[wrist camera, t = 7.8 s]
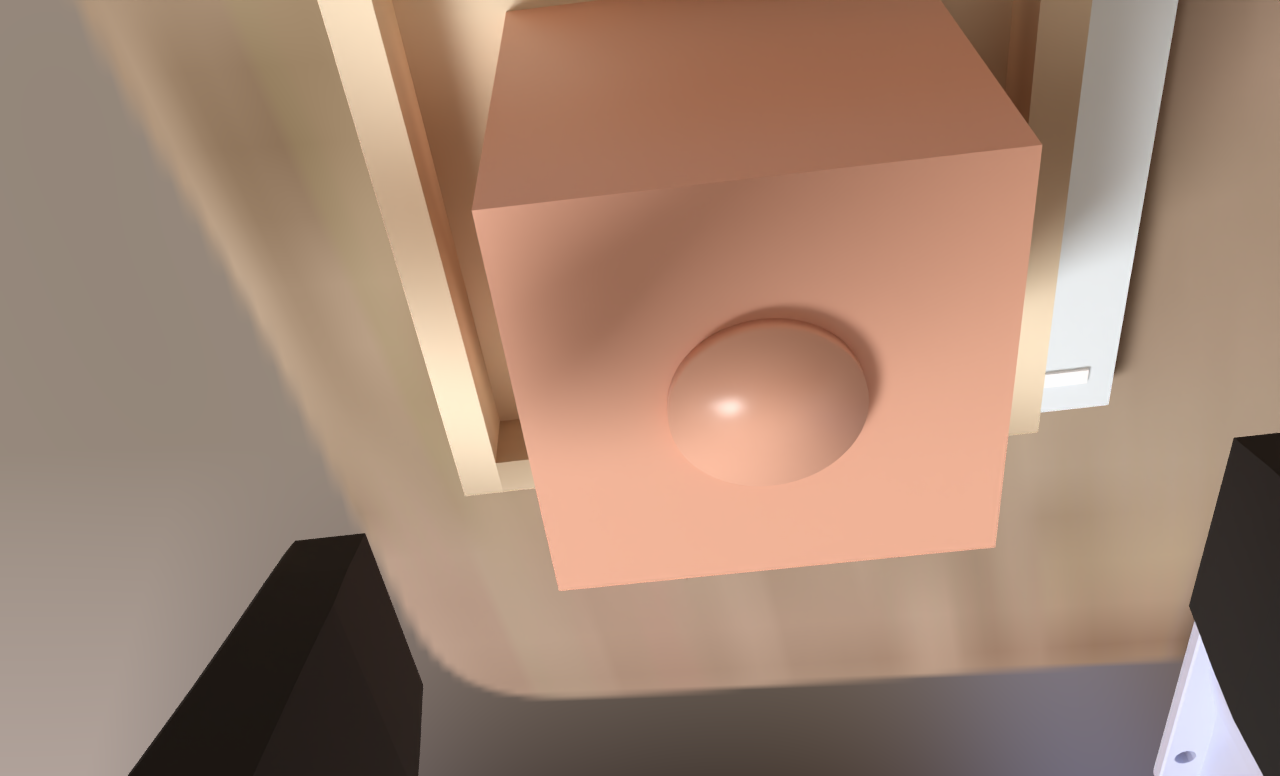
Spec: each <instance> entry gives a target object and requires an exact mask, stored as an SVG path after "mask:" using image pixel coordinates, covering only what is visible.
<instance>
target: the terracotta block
mask: <svg viewBox="0 0 1280 776" xmlns="http://www.w3.org/2000/svg"><path fill="white" fill-rule="evenodd" d="M1041 153H1042V143H1041V142H1040V141H1039V139H1038V138H1037V136H1036V135H1035V133H1034V132H1033V131H1032V129H1031V128H1030V126H1029V125H1028V123H1027V122H1026V121H1025V119H1024V118H1023V116H1022V115H1021V114H1020V112H1019V111H1018V109H1017V108H1016V106H1015V105H1014V104H1013V102H1012V101H1011V99H1010V98H1009V96H1008V95H1007V94H1006V92H1005V91H1004V89H1003V88H1002V87H1001V85H1000V84H999V82H998V81H997V79H996V78H995V77H994V75H993V74H992V72H991V71H990V69H989V68H988V67H987V65H986V64H985V62H984V61H983V60H982V58H981V57H980V55H979V54H978V52H977V51H976V50H975V48H974V47H973V45H972V44H971V43H970V41H969V40H968V38H967V37H966V35H965V34H964V33H963V31H962V30H961V28H960V27H959V25H958V24H957V23H956V21H955V20H954V18H953V17H952V16H951V14H950V13H949V11H948V10H947V8H946V7H945V6H944V4H943V3H942V1H941V0H597V1H588V2H580V3H572V4H564V5H556V6H548V7H540V8H531V9H523V10H515V11H507V12H506V15H505V21H504V27H503V33H502V38H501V44H500V50H499V56H498V61H497V67H496V73H495V79H494V84H493V90H492V96H491V102H490V107H489V113H488V119H487V125H486V130H485V136H484V142H483V148H482V153H481V159H480V165H479V171H478V176H477V182H476V188H475V194H474V199H473V205H472V215H473V219H474V223H475V228H476V232H477V236H478V241H479V245H480V250H481V254H482V258H483V263H484V267H485V271H486V276H487V280H488V284H489V289H490V293H491V297H492V302H493V306H494V310H495V315H496V319H497V323H498V328H499V332H500V336H501V341H502V345H503V349H504V354H505V358H506V363H507V367H508V371H509V376H510V380H511V384H512V389H513V393H514V397H515V402H516V406H517V410H518V415H519V419H520V423H521V428H522V432H523V436H524V441H525V445H526V449H527V454H528V458H529V462H530V467H531V471H532V475H533V480H534V484H535V489H536V493H537V497H538V502H539V506H540V510H541V515H542V519H543V523H544V528H545V532H546V536H547V541H548V545H549V549H550V554H551V558H552V562H553V567H554V571H555V575H556V580H557V584H558V588H559V591H564V590H574V589H584V588H594V587H604V586H614V585H624V584H634V583H644V582H653V581H663V580H673V579H683V578H693V577H703V576H713V575H723V574H733V573H743V572H753V571H763V570H773V569H783V568H793V567H803V566H813V565H823V564H833V563H843V562H853V561H863V560H873V559H883V558H893V557H903V556H913V555H923V554H932V553H942V552H952V551H962V550H972V549H982V548H992V547H995V544H996V536H997V527H998V519H999V510H1000V502H1001V493H1002V485H1003V476H1004V468H1005V459H1006V451H1007V442H1008V434H1009V425H1010V417H1011V408H1012V400H1013V391H1014V383H1015V374H1016V366H1017V357H1018V349H1019V340H1020V332H1021V323H1022V315H1023V306H1024V298H1025V289H1026V281H1027V272H1028V264H1029V255H1030V247H1031V238H1032V230H1033V221H1034V213H1035V204H1036V196H1037V187H1038V179H1039V170H1040V162H1041Z"/></svg>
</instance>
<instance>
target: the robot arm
mask: <svg viewBox="0 0 1280 776" xmlns="http://www.w3.org/2000/svg"><path fill="white" fill-rule="evenodd" d="M1189 607H1190V610H1191V612H1192V615H1193V618H1194V620H1195V621H1194V625H1193V628H1192V632H1191V636H1190V639H1189V643H1188V647H1187V650H1186V654H1185V657H1184V661H1183V665H1182V668H1181V672H1180V676H1179V680H1178V683H1177V687H1176V690H1175V694H1174V698H1173V701H1172V705H1171V708H1170V712H1169V715H1168V719H1167V723H1166V726H1165V730H1164V734H1163V738H1162V741H1161V745H1160V749H1159V752H1158V755H1157V759H1156V763H1155V766H1154V775H1155V776H1280V433H1273V434H1264V435H1255V436H1246V437H1237V438H1234V439H1233V443H1232V447H1231V451H1230V454H1229V458H1228V462H1227V466H1226V469H1225V473H1224V477H1223V481H1222V484H1221V488H1220V492H1219V496H1218V499H1217V503H1216V507H1215V511H1214V514H1213V518H1212V522H1211V526H1210V529H1209V533H1208V537H1207V541H1206V544H1205V548H1204V552H1203V556H1202V559H1201V563H1200V567H1199V571H1198V574H1197V578H1196V582H1195V586H1194V589H1193V593H1192V597H1191V601H1190V604H1189ZM422 696H423V684H422V681H421V678H420V675H419V673H418V670H417V668H416V665H415V663H414V660H413V658H412V655H411V652H410V650H409V647H408V644H407V642H406V639H405V636H404V634H403V631H402V628H401V626H400V623H399V621H398V618H397V615H396V613H395V610H394V608H393V605H392V602H391V600H390V597H389V594H388V592H387V589H386V587H385V584H384V581H383V579H382V576H381V574H380V571H379V568H378V566H377V563H376V561H375V558H374V555H373V553H372V550H371V547H370V545H369V542H368V540H367V537H366V534H365V533H363V534H354V535H345V536H336V537H327V538H317V539H308V540H299V541H295V542H294V543H293V544H292V545H291V546H290V548H289V549H288V550H287V551H286V553H285V554H284V555H283V557H282V558H281V560H280V561H279V563H278V564H277V566H276V567H275V568H274V570H273V571H272V573H271V574H270V576H269V577H268V579H267V580H266V581H265V583H264V584H263V586H262V587H261V589H260V590H259V592H258V593H257V594H256V596H255V597H254V599H253V600H252V602H251V603H250V605H249V606H248V608H247V609H246V611H245V612H244V614H243V615H242V616H241V618H240V619H239V621H238V622H237V624H236V625H235V627H234V628H233V629H232V631H231V632H230V634H229V635H228V637H227V638H226V640H225V641H224V643H223V644H222V645H221V647H220V648H219V650H218V651H217V653H216V654H215V655H214V657H213V659H212V660H211V661H210V663H209V664H208V665H207V667H206V668H205V670H204V671H203V673H202V674H201V675H200V677H199V678H198V680H197V681H196V683H195V684H194V686H193V687H192V688H191V690H190V691H189V692H188V694H187V695H186V697H185V698H184V700H183V701H182V702H181V703H180V705H179V706H178V708H177V709H176V710H175V712H174V713H173V715H172V716H171V717H170V719H169V720H168V722H167V723H166V724H165V725H164V727H163V728H162V730H161V731H160V732H159V734H158V735H157V736H156V738H155V739H154V741H153V742H152V743H151V745H150V746H149V747H148V749H147V750H146V751H145V753H144V754H143V756H142V757H141V758H140V760H139V761H138V763H137V764H136V765H135V767H134V768H133V769H132V771H131V772H130V773H129V775H128V776H418V769H419V756H420V737H421V716H422Z"/></svg>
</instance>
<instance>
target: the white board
mask: <svg viewBox="0 0 1280 776" xmlns="http://www.w3.org/2000/svg"><path fill="white" fill-rule="evenodd" d="M1177 5H1178V0H1092V8H1091V16H1090V24H1089V31H1088V39H1087V47H1086V55H1085V63H1084V71H1083V79H1082V87H1081V95H1080V103H1079V111H1078V119H1077V127H1076V134H1075V142H1074V150H1073V158H1072V166H1071V174H1070V182H1069V190H1068V198H1067V206H1066V214H1065V222H1064V230H1063V237H1062V245H1061V253H1060V261H1059V269H1058V277H1057V285H1056V293H1055V301H1054V309H1053V317H1052V325H1051V333H1050V340H1049V348H1048V356H1047V364H1046V372H1045V380H1044V388H1043V396H1042V404H1041V412H1049V411H1058V410H1067V409H1076V408H1085V407H1094V406H1102V405H1108V404H1109V398H1110V392H1111V386H1112V381H1113V375H1114V369H1115V363H1116V357H1117V352H1118V346H1119V340H1120V334H1121V329H1122V323H1123V317H1124V311H1125V306H1126V300H1127V294H1128V288H1129V282H1130V277H1131V271H1132V265H1133V259H1134V254H1135V248H1136V242H1137V236H1138V230H1139V225H1140V219H1141V213H1142V207H1143V202H1144V196H1145V190H1146V184H1147V179H1148V173H1149V167H1150V161H1151V155H1152V150H1153V144H1154V138H1155V132H1156V127H1157V121H1158V115H1159V109H1160V103H1161V98H1162V92H1163V86H1164V80H1165V75H1166V69H1167V63H1168V57H1169V51H1170V46H1171V40H1172V34H1173V28H1174V23H1175V17H1176V11H1177Z"/></svg>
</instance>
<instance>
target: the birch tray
mask: <svg viewBox="0 0 1280 776" xmlns="http://www.w3.org/2000/svg"><path fill="white" fill-rule="evenodd" d="M588 1H597V0H318V3H319V7H320V10H321V14H322V17H323V20H324V24H325V27H326V30H327V34H328V37H329V40H330V44H331V47H332V51H333V54H334V57H335V61H336V64H337V67H338V71H339V74H340V77H341V81H342V84H343V88H344V91H345V94H346V98H347V101H348V104H349V108H350V111H351V114H352V118H353V121H354V124H355V128H356V131H357V135H358V138H359V141H360V145H361V148H362V151H363V155H364V158H365V161H366V165H367V168H368V172H369V175H370V178H371V182H372V185H373V188H374V192H375V195H376V198H377V202H378V205H379V209H380V212H381V215H382V219H383V222H384V225H385V229H386V232H387V235H388V239H389V242H390V245H391V249H392V252H393V256H394V259H395V262H396V266H397V269H398V272H399V276H400V279H401V282H402V286H403V289H404V293H405V296H406V299H407V303H408V306H409V309H410V313H411V316H412V319H413V323H414V326H415V330H416V333H417V336H418V340H419V343H420V346H421V350H422V353H423V356H424V360H425V363H426V366H427V370H428V373H429V377H430V380H431V383H432V387H433V390H434V393H435V397H436V400H437V403H438V407H439V410H440V414H441V417H442V420H443V424H444V427H445V430H446V434H447V437H448V440H449V444H450V447H451V451H452V454H453V457H454V461H455V464H456V467H457V471H458V474H459V477H460V481H461V484H462V487H463V491H464V494H465V496H472V495H481V494H490V493H499V492H508V491H516V490H525V489H534V488H535V484H534V480H533V475H532V471H531V467H530V462H529V458H528V454H527V449H526V445H525V441H524V436H523V432H522V428H521V423H520V419H519V415H518V410H517V406H516V402H515V397H514V393H513V389H512V384H511V380H510V376H509V371H508V367H507V363H506V358H505V354H504V349H503V345H502V341H501V336H500V332H499V328H498V323H497V319H496V315H495V310H494V306H493V302H492V297H491V293H490V289H489V284H488V280H487V276H486V271H485V267H484V263H483V258H482V254H481V250H480V245H479V241H478V236H477V232H476V228H475V223H474V219H473V215H472V205H473V199H474V194H475V188H476V182H477V176H478V171H479V165H480V159H481V153H482V148H483V142H484V136H485V130H486V125H487V119H488V113H489V107H490V102H491V96H492V90H493V84H494V79H495V73H496V67H497V61H498V56H499V50H500V44H501V38H502V33H503V27H504V21H505V15H506V12H507V11H515V10H523V9H531V8H540V7H548V6H556V5H564V4H572V3H580V2H588ZM941 1H942V3H943V4H944V6H945V7H946V8H947V10H948V11H949V13H950V14H951V16H952V17H953V18H954V20H955V21H956V23H957V24H958V25H959V27H960V28H961V30H962V31H963V33H964V34H965V35H966V37H967V38H968V40H969V41H970V43H971V44H972V45H973V47H974V48H975V50H976V51H977V52H978V54H979V55H980V57H981V58H982V60H983V61H984V62H985V64H986V65H987V67H988V68H989V69H990V71H991V72H992V74H993V75H994V77H995V78H996V79H997V81H998V82H999V84H1000V85H1001V87H1002V88H1003V89H1004V91H1005V92H1006V94H1007V95H1008V96H1009V98H1010V99H1011V101H1012V102H1013V104H1014V105H1015V106H1016V108H1017V109H1018V111H1019V112H1020V114H1021V115H1022V116H1023V118H1024V119H1025V121H1026V122H1027V123H1028V125H1029V126H1030V128H1031V129H1032V131H1033V132H1034V133H1035V135H1036V136H1037V138H1038V139H1039V141H1040V142H1041V143H1042V153H1041V162H1040V170H1039V179H1038V187H1037V196H1036V204H1035V213H1034V221H1033V230H1032V238H1031V247H1030V255H1029V264H1028V272H1027V281H1026V289H1025V298H1024V306H1023V315H1022V323H1021V332H1020V340H1019V349H1018V357H1017V366H1016V374H1015V383H1014V391H1013V400H1012V408H1011V417H1010V425H1009V434H1008V436H1010V435H1019V434H1028V433H1037V432H1038V428H1039V420H1040V412H1041V404H1042V396H1043V388H1044V380H1045V372H1046V364H1047V356H1048V348H1049V340H1050V333H1051V325H1052V317H1053V309H1054V301H1055V293H1056V285H1057V277H1058V269H1059V261H1060V253H1061V245H1062V237H1063V230H1064V222H1065V214H1066V206H1067V198H1068V190H1069V182H1070V174H1071V166H1072V158H1073V150H1074V142H1075V134H1076V127H1077V119H1078V111H1079V103H1080V95H1081V87H1082V79H1083V71H1084V63H1085V55H1086V47H1087V39H1088V31H1089V24H1090V16H1091V8H1092V0H941Z"/></svg>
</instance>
